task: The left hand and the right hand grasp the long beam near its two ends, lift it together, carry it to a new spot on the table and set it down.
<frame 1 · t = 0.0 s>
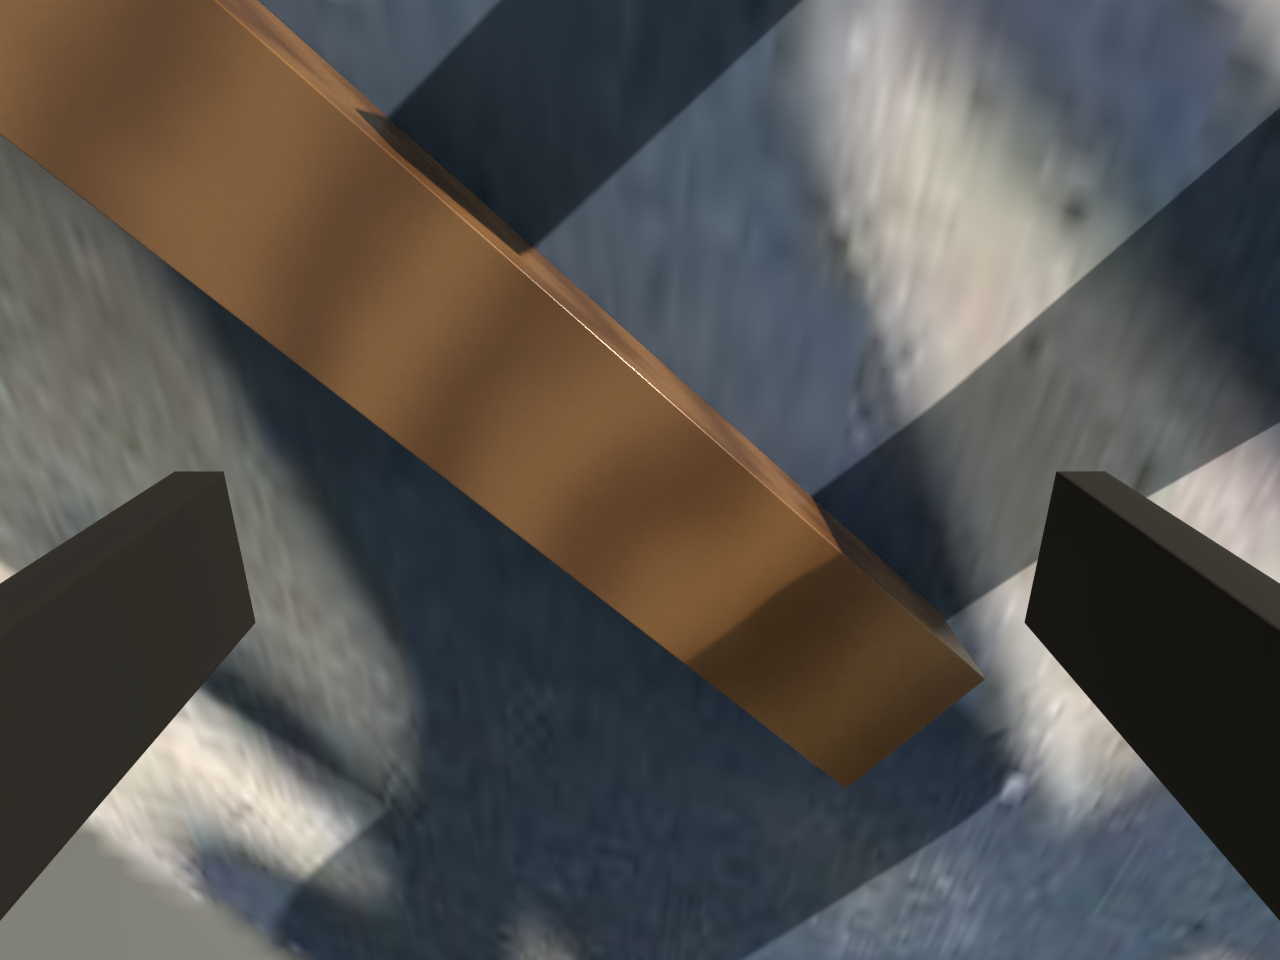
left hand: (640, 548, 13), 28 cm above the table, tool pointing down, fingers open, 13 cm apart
long beam: (377, 238, 38), on the table
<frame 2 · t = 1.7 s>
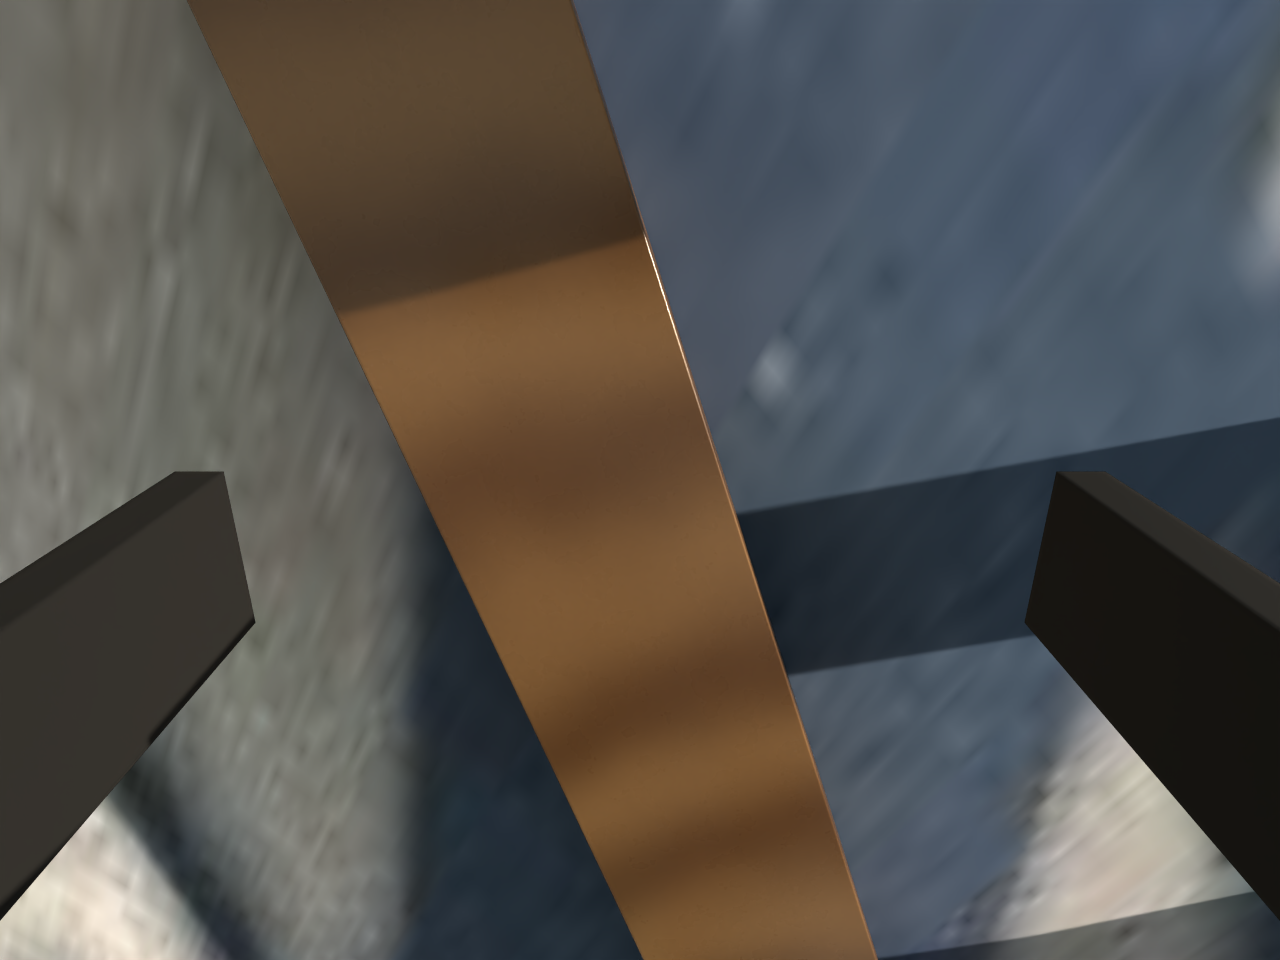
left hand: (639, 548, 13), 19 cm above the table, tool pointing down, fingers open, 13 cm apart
long beam: (650, 599, 34), on the table
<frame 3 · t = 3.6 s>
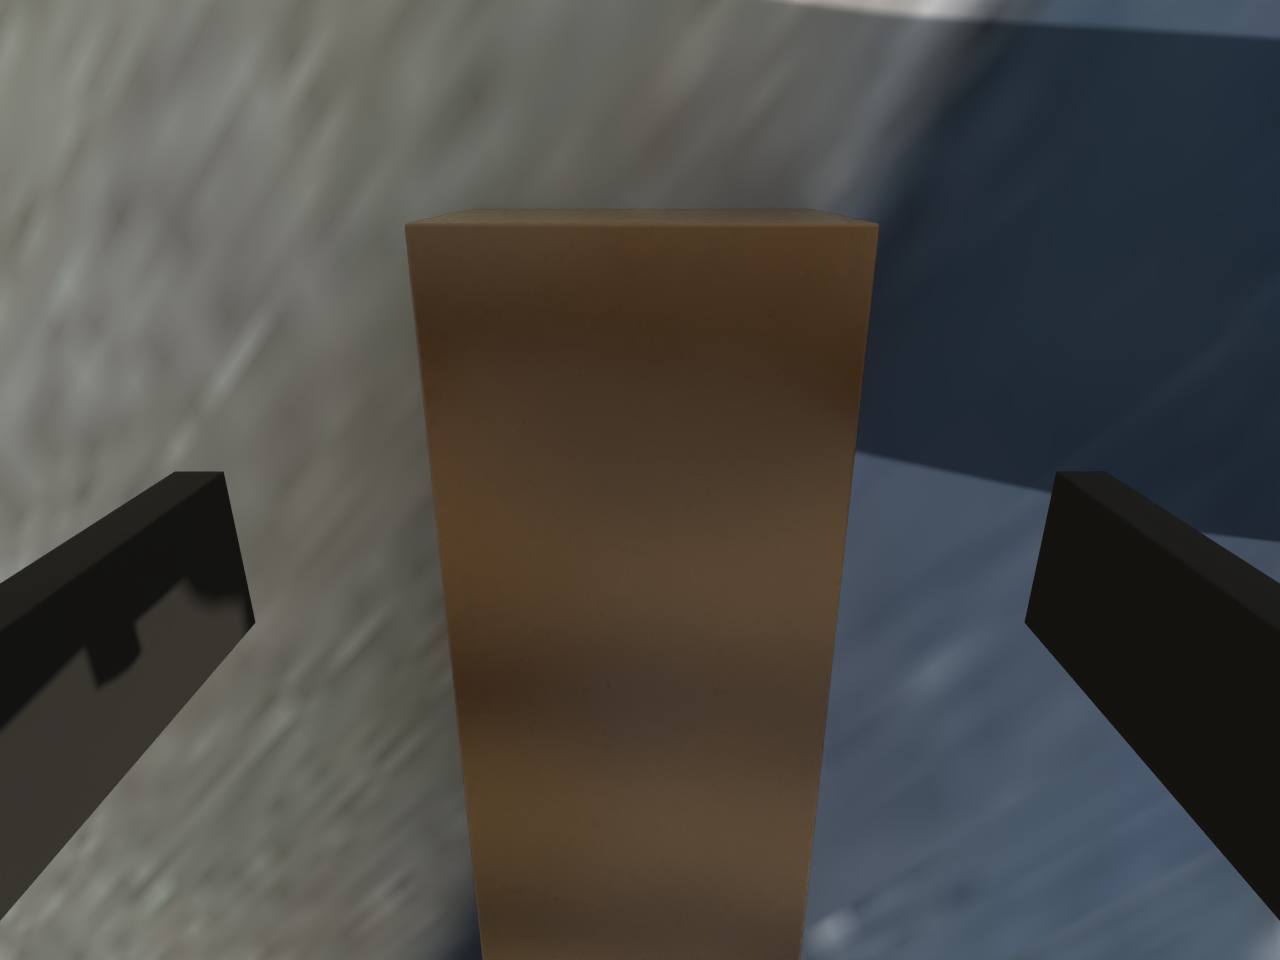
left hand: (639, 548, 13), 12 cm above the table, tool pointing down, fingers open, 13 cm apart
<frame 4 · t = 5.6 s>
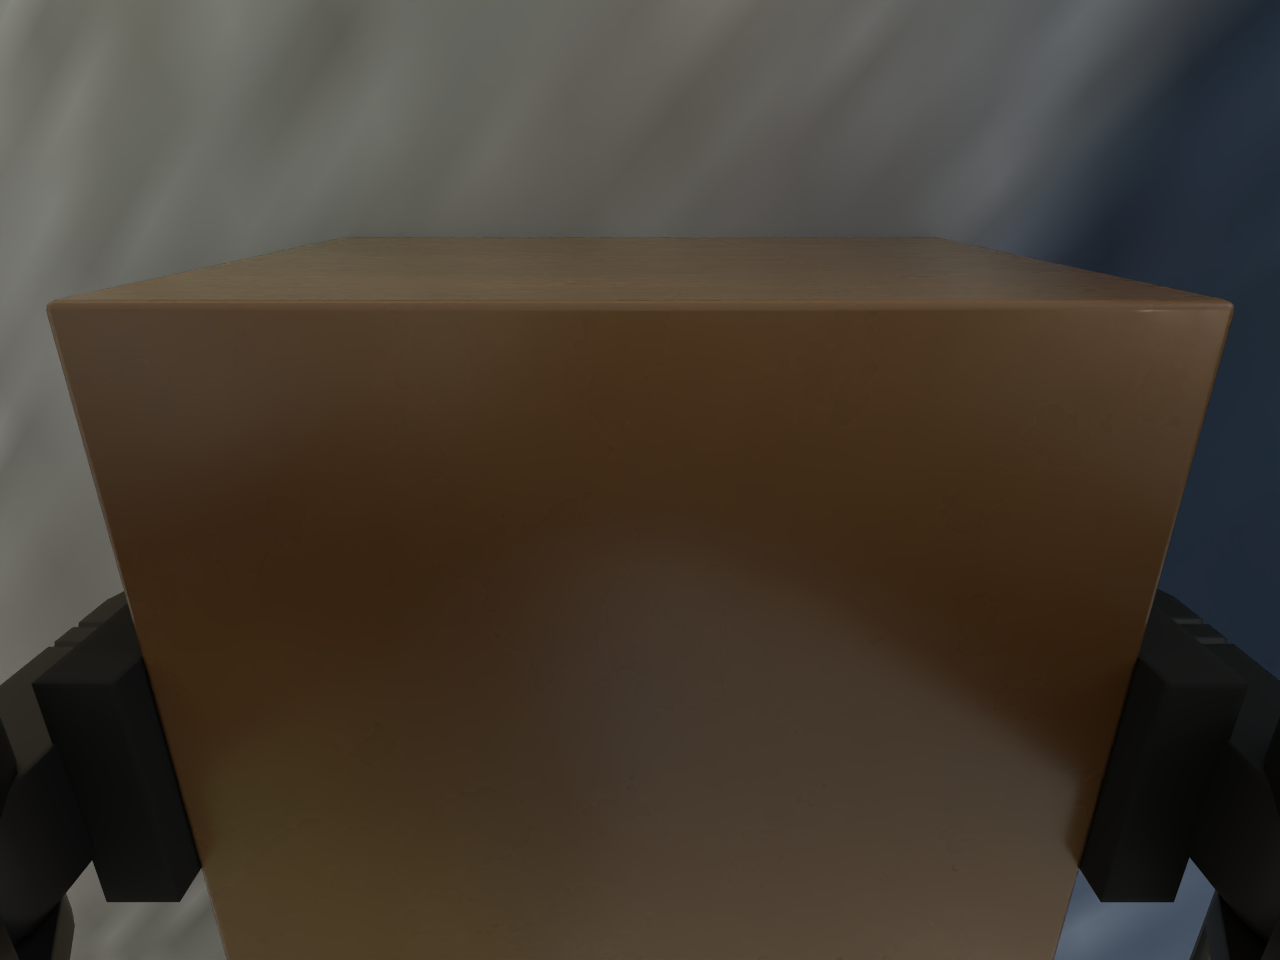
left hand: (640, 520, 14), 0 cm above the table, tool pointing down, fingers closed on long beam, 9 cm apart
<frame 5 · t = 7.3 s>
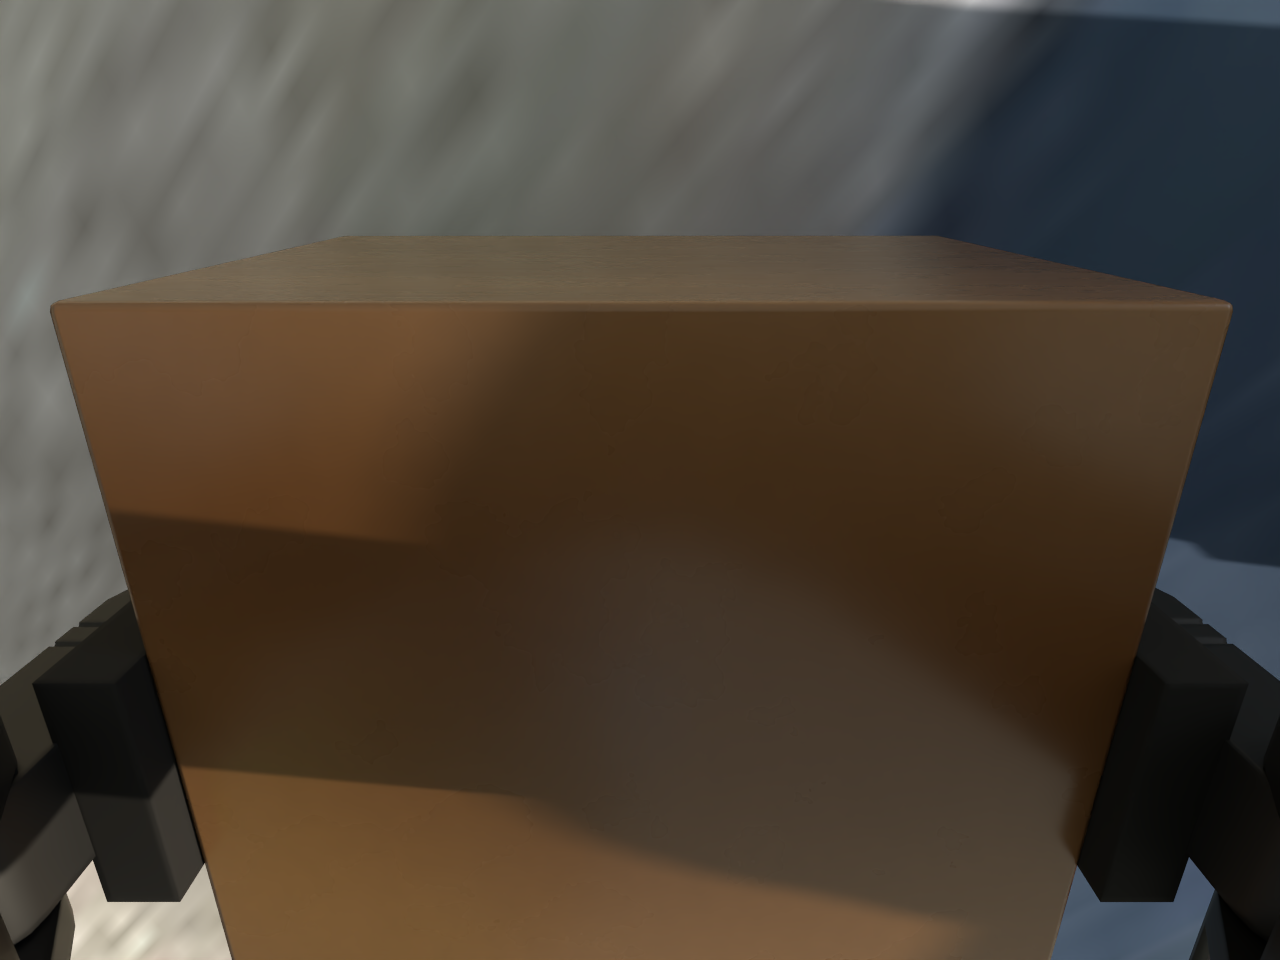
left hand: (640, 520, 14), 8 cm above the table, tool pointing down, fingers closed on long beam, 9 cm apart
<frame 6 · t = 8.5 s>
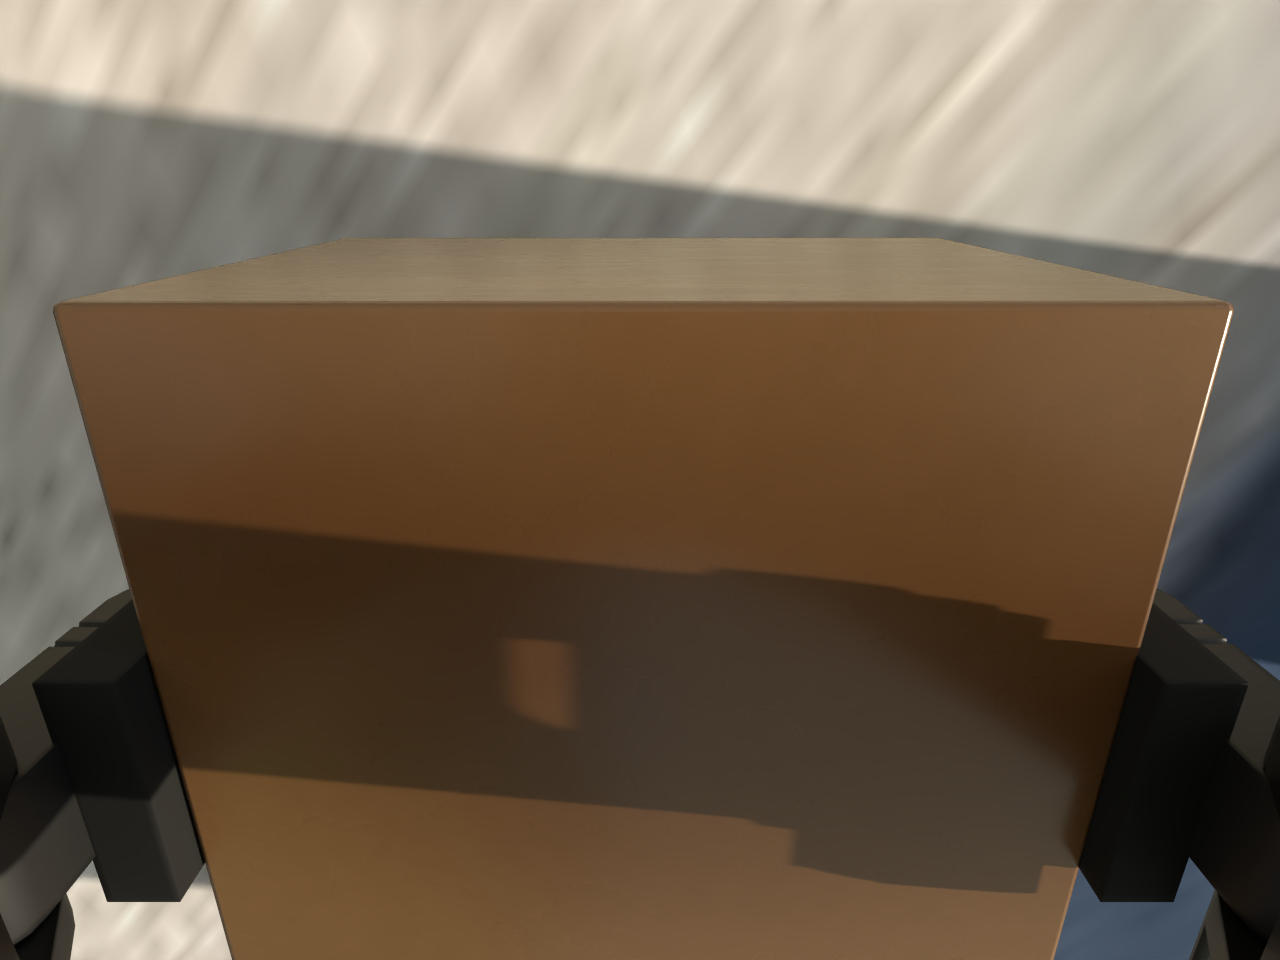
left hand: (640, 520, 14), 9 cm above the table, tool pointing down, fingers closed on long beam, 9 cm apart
when the left hand's fingers open (1 cm above the table, at t = 11.2 s): long beam stays where it is, on the table.
when the right hand's fingers open (1 cm above the table, at t = 11.2 s): long beam stays where it is, on the table.
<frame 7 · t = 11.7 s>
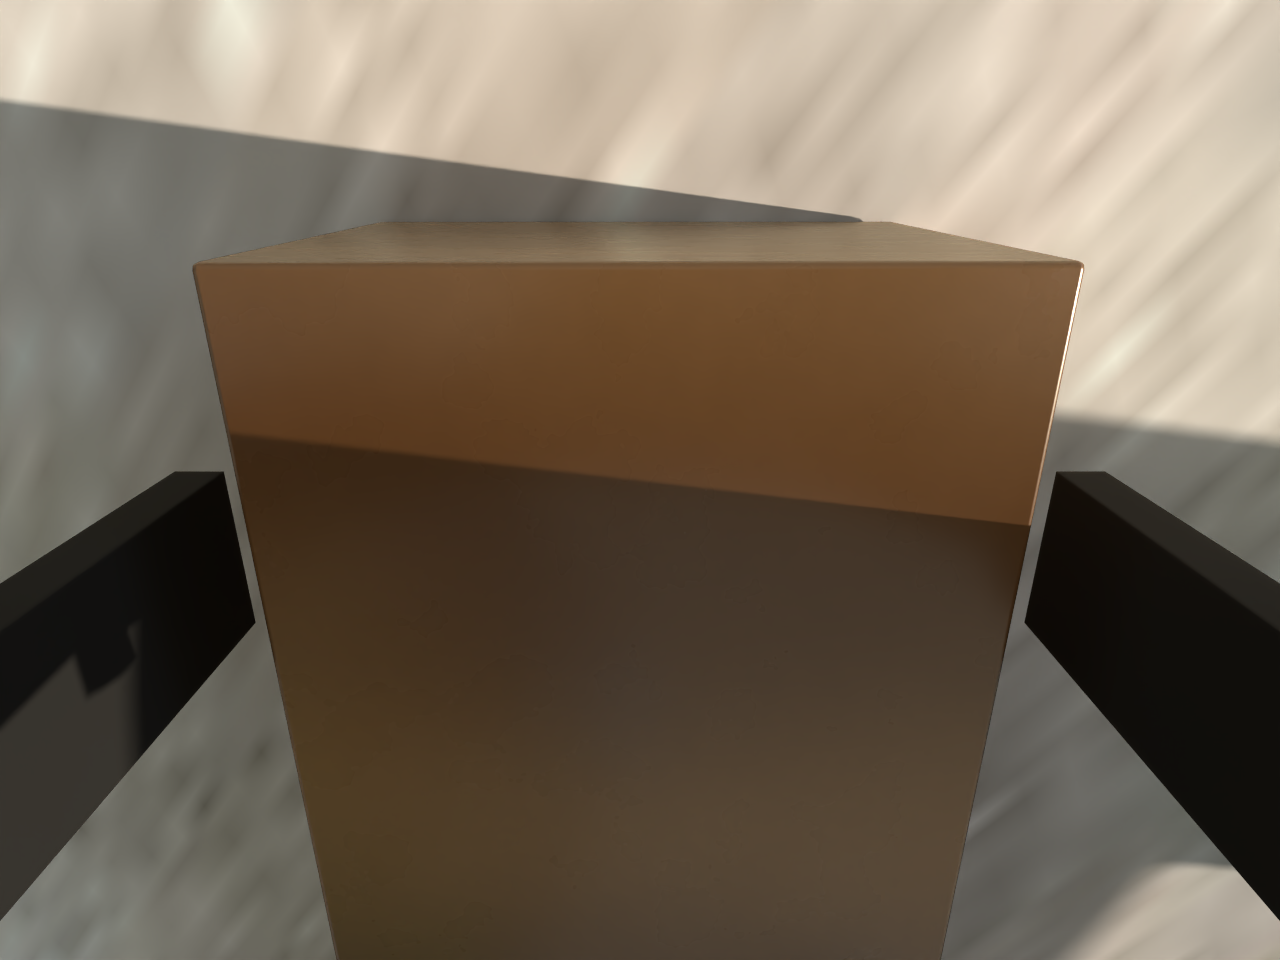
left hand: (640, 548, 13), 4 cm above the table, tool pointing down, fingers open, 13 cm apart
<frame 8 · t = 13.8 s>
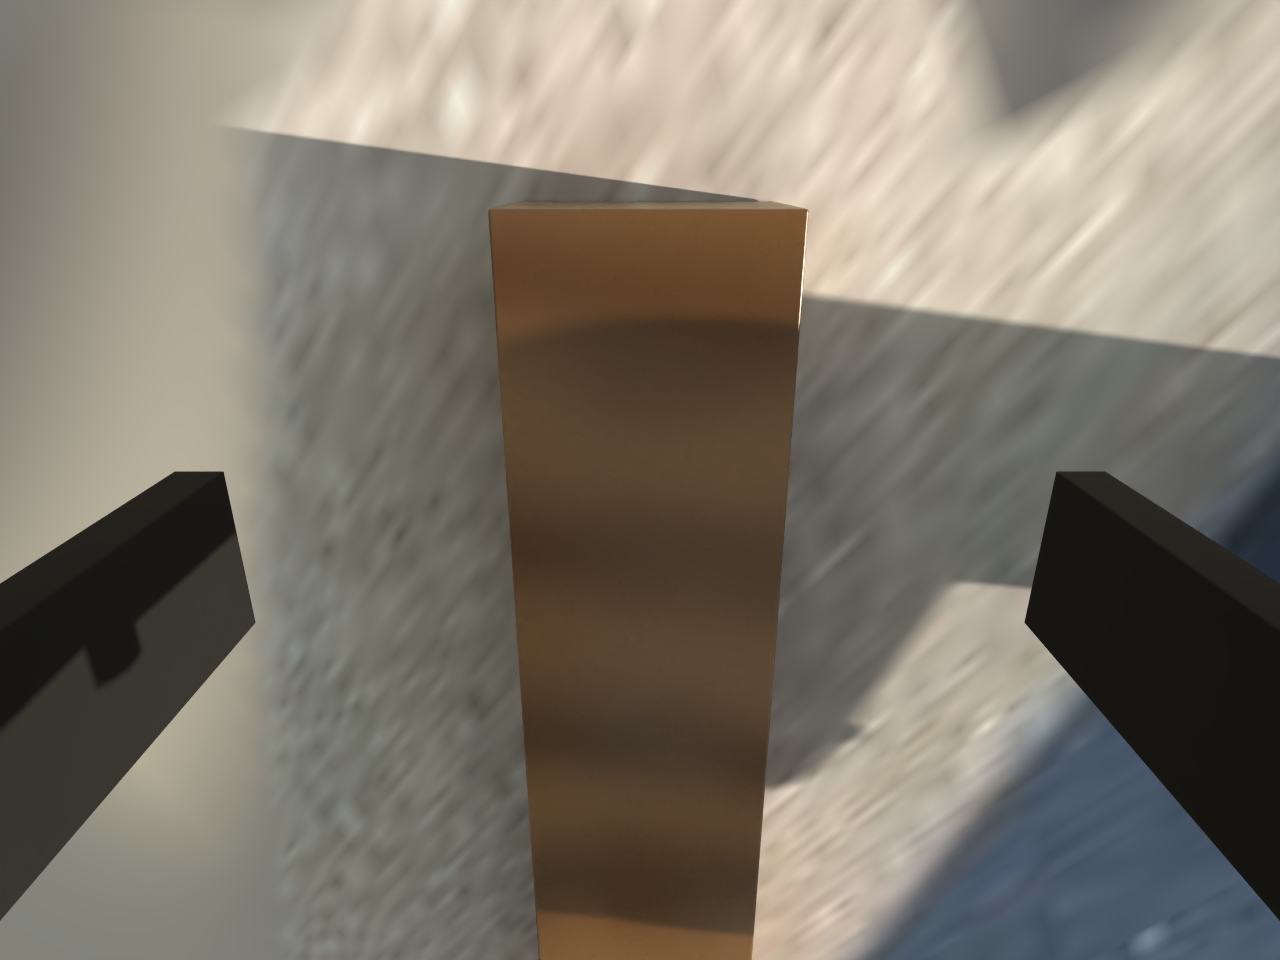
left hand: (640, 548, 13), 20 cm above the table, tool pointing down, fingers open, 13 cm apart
long beam: (644, 905, 42), on the table
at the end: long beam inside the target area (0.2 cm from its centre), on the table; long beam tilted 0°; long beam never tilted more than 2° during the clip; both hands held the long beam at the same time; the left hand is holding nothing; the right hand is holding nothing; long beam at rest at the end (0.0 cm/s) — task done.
